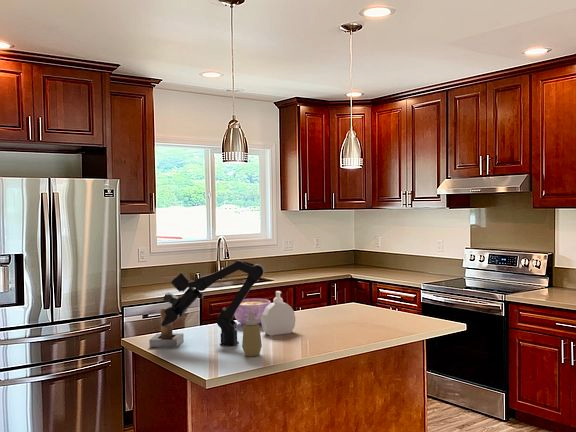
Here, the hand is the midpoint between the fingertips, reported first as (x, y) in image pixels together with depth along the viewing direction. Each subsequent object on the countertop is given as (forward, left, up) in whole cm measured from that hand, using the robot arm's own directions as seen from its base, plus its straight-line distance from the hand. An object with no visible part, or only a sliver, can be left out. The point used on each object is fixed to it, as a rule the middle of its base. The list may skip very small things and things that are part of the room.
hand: (163, 324), depth 260 cm
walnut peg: (-1, 0, -7) cm, 7 cm away
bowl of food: (-18, -50, -9) cm, 54 cm away
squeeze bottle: (-46, +3, -9) cm, 47 cm away
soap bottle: (-40, -36, -9) cm, 54 cm away
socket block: (-1, 0, -9) cm, 9 cm away
